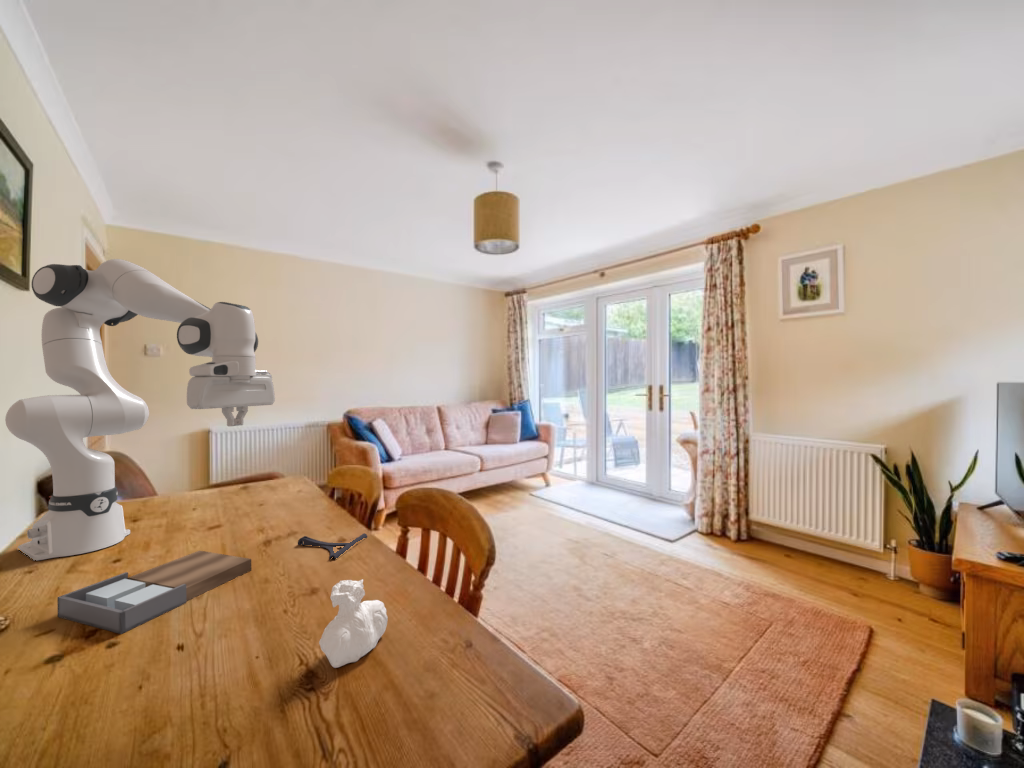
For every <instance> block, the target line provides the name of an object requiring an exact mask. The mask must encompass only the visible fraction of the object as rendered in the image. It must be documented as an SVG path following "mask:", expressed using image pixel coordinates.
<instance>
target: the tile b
mask: <svg viewBox="0 0 1024 768" xmlns="http://www.w3.org/2000/svg"><path fill="white" fill-rule="evenodd" d="M171 589H173V588H168V587H163V586H158V585H150V586H148V587H146V588H143V589H141V590H138V591H136V592H133V593H131V594H129V595H126V596H124V597H121V598H119V599H116V600H115V609H119V610H125V609H127V608H130V607H132V606H134V605H137V604H139V603H141V602H143V601H146V600H148V599H150V598H153V597H155V596H157V595H160V594H162V593H164V592H166V591H169V590H171Z"/></svg>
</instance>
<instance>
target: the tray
mask: <svg viewBox="0 0 1024 768" xmlns="http://www.w3.org/2000/svg"><path fill="white" fill-rule="evenodd" d="M128 577H129V572H127V571H126V572H123V573H120V574H117V575H115V576H111V577H109V578H106V579H104V580H100V581H98V582H95V583H93V584H90V585H88V586H85V587H82V588H78V589H76V590H73V591H70V592H68V593H65V594H62V595H60V596H57V598H56V599H57V618H59V619H64V620H68V621H71V622H74V623H75V622H76V623H79V624H82V625H86V626H90V627H94V628H97V629H100V630H101V629H102V630H105V631H109V632H112V633H115V634H120V635H122V634H125V633H127V632H128V631H131V630H133V629H135V628H137V627H139V626H141V625H143V624H145V623H148V622H149V621H152V620H153V619H155V618H158V617H160V616H162V615H164V614H166V613H168V612H170V611H172V610H175V609H177V608H179V607H181V606H182V605H185V604H187V601H186V584H182V585H180V586H178V587H176V588H173V589H171V590H169V591H166V592H164V593H162V594H160V595H157V596H155V597H153V598H150V599H148V600H146V601H143V602H141V603H139V604H137V605H134V606H132V607H130V608H127V609H125V610H119V609H115V608H111V607H107V606H102V605H98V604H94V603H90V602H86V593H88V592H91V591H94V590H96V589H99V588H102V587H104V586H107V585H109V584H112V583H115V582H117V581H120V580H123V579H128Z"/></svg>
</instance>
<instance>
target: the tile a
mask: <svg viewBox="0 0 1024 768" xmlns="http://www.w3.org/2000/svg"><path fill="white" fill-rule="evenodd" d="M143 588H145V583H143V582H139V581H134V580H129V579H123V580H120V581H117V582H115V583H112V584H109V585H107V586H104V587H102V588H99V589H96V590H94V591H91V592H88V593H86V602H90V603H94V604H98V605H102V606H107V607H111V608H115V600H116V599H119V598H121V597H124V596H126V595H129V594H131V593H133V592H136V591H138V590H141V589H143Z"/></svg>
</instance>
